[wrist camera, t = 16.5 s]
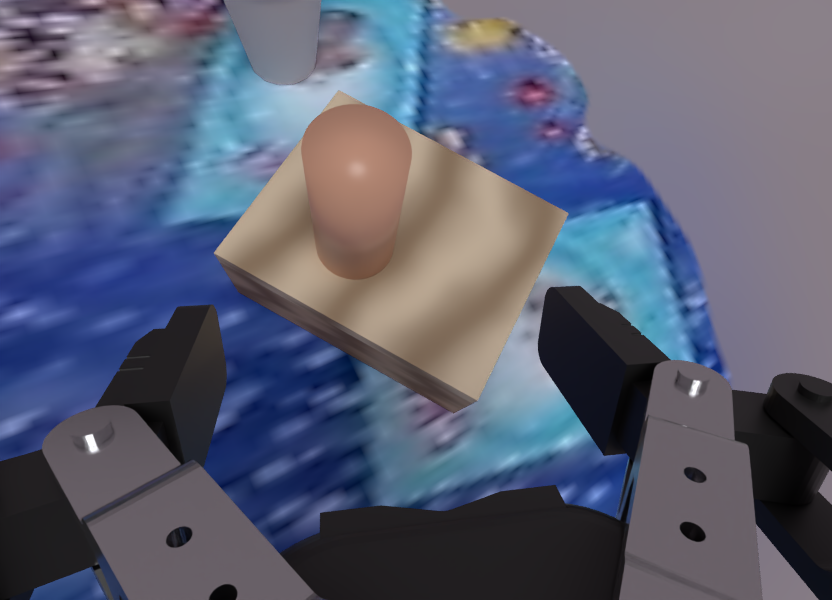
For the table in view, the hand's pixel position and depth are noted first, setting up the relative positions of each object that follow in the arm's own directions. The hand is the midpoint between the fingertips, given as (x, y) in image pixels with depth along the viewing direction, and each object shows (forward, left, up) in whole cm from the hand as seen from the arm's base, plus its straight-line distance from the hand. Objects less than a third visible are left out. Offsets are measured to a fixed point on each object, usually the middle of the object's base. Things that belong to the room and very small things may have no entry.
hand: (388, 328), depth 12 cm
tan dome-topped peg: (-6, +10, -20) cm, 24 cm away
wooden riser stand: (-4, +12, -28) cm, 31 cm away
